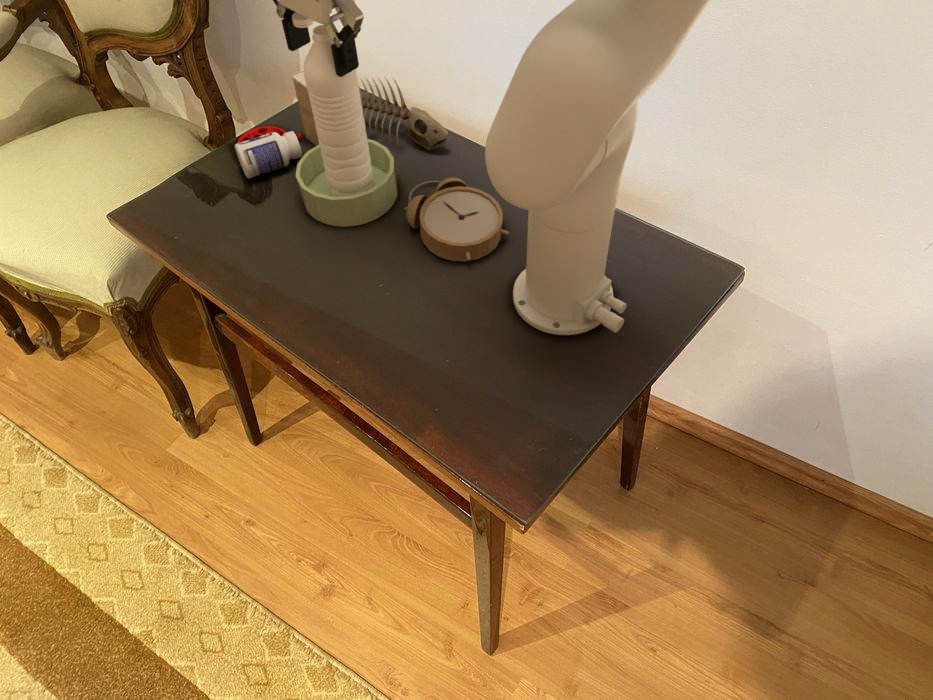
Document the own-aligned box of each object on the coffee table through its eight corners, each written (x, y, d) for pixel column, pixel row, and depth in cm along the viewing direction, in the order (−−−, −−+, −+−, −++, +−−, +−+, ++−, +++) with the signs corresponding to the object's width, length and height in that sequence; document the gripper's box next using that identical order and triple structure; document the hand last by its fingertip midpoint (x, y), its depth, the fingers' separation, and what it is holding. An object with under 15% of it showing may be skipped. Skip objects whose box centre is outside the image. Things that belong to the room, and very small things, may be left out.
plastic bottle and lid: (384, 193, 106) (360, 28, 86) (348, 214, 104) (315, 49, 84) (349, 165, 110) (318, 2, 91) (313, 185, 108) (273, 21, 88)
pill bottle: (250, 186, 110) (306, 168, 113) (242, 162, 106) (301, 144, 108) (238, 161, 113) (294, 143, 115) (231, 136, 108) (288, 119, 110)
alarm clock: (459, 260, 94) (386, 190, 99) (456, 283, 99) (386, 214, 104) (521, 219, 99) (448, 154, 104) (516, 242, 103) (446, 179, 108)
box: (305, 138, 117) (289, 74, 108) (327, 127, 118) (313, 63, 110) (325, 153, 114) (310, 89, 105) (347, 141, 116) (334, 77, 107)
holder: (417, 191, 108) (414, 163, 104) (346, 240, 102) (340, 213, 98) (354, 153, 114) (349, 125, 110) (284, 198, 108) (276, 170, 104)
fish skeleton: (438, 163, 111) (437, 102, 104) (294, 111, 121) (284, 52, 113) (457, 146, 114) (458, 86, 107) (316, 96, 124) (307, 38, 117)
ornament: (236, 131, 117) (298, 120, 119) (237, 134, 118) (299, 123, 119) (238, 161, 113) (303, 149, 114) (239, 164, 113) (304, 153, 114)
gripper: (374, -86, 75) (393, 70, 89) (269, -126, 83) (302, 24, 96) (318, -60, 72) (347, 97, 85) (214, -104, 79) (256, 47, 93)
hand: (323, 58), depth 91 cm, fingers closed on plastic bottle and lid, 8 cm apart
